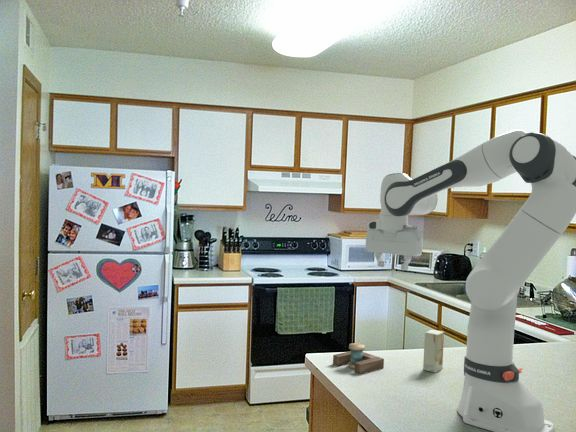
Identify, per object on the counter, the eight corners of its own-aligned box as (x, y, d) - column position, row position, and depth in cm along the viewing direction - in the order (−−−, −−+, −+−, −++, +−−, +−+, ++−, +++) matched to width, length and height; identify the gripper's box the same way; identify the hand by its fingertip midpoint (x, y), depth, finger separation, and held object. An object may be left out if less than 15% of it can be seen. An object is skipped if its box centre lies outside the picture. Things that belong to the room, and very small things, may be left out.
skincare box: (435, 373, 167) (437, 334, 166) (422, 370, 169) (424, 332, 169) (443, 368, 172) (444, 331, 171) (430, 365, 174) (431, 328, 174)
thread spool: (367, 367, 170) (367, 345, 170) (356, 370, 167) (357, 348, 167) (355, 363, 174) (356, 342, 174) (345, 366, 171) (345, 344, 171)
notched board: (383, 367, 170) (383, 358, 170) (360, 374, 163) (360, 364, 163) (356, 358, 179) (356, 349, 179) (332, 364, 172) (333, 355, 172)
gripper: (427, 226, 162) (425, 271, 162) (375, 223, 177) (374, 264, 178) (414, 226, 158) (413, 272, 158) (363, 223, 173) (362, 265, 174)
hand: (392, 268), depth 168 cm, fingers open, 8 cm apart
